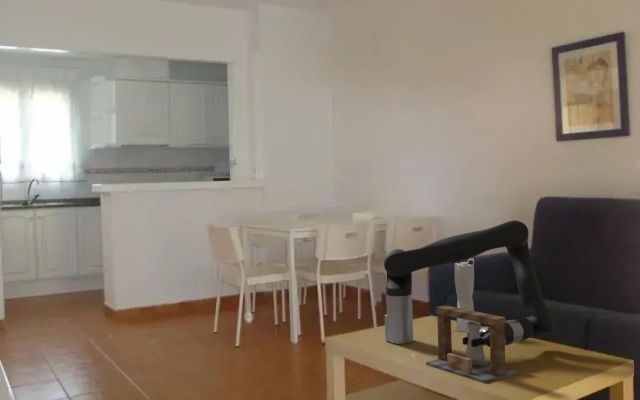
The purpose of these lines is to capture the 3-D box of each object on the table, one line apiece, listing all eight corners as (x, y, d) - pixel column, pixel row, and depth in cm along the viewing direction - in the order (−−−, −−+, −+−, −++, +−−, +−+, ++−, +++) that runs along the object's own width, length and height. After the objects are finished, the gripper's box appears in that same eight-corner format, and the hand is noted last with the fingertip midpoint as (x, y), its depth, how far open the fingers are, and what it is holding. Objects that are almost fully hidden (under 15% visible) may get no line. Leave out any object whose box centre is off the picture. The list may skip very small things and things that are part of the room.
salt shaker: (485, 366, 206) (483, 324, 205) (466, 366, 207) (464, 324, 206) (484, 360, 212) (483, 319, 211) (465, 360, 213) (464, 319, 212)
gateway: (426, 364, 215) (424, 309, 214) (457, 356, 222) (456, 303, 222) (485, 383, 194) (484, 322, 193) (518, 373, 202) (516, 314, 201)
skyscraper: (480, 329, 260) (478, 257, 258) (473, 334, 253) (471, 260, 251) (459, 327, 264) (456, 256, 263) (452, 332, 257) (449, 259, 256)
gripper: (488, 318, 223) (450, 326, 213) (522, 325, 211) (484, 334, 201) (489, 340, 223) (451, 350, 213) (523, 348, 211) (485, 359, 202)
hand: (467, 342), depth 207 cm, fingers closed on salt shaker, 3 cm apart
